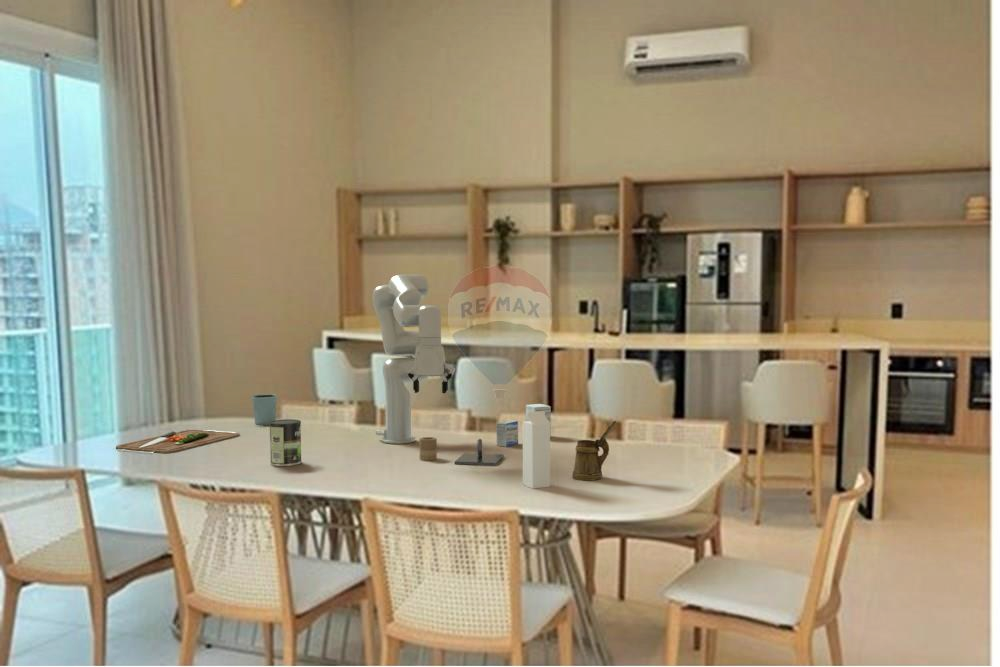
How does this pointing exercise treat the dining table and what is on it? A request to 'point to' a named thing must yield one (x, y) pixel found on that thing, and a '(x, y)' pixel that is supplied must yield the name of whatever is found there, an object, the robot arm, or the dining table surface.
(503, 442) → the medicine box
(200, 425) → the dining table surface
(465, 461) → the holder
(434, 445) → the cylinder
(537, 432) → the milk
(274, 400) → the blue cup
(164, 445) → the chopping board
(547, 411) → the supplement box
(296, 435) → the coffee can
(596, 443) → the wooden mug
